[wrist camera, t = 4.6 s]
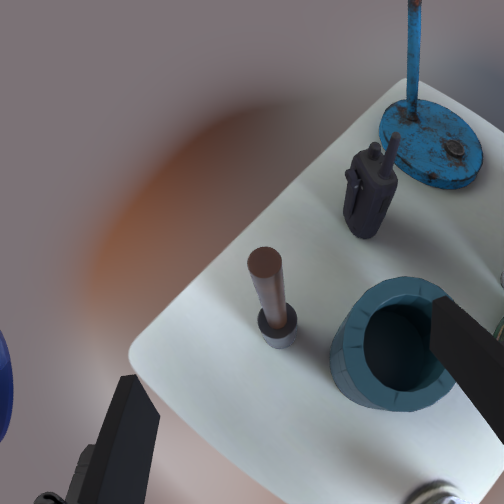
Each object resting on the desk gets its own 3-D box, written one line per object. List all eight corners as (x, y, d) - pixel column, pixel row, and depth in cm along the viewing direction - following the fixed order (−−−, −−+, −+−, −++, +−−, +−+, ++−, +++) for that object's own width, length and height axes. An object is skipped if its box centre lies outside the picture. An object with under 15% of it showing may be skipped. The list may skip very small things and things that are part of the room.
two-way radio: (382, 237, 34) (422, 146, 21) (346, 249, 34) (373, 157, 21) (362, 197, 37) (387, 99, 23) (328, 207, 37) (339, 107, 23)
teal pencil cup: (380, 427, 26) (412, 438, 18) (307, 360, 30) (313, 348, 22) (443, 350, 28) (487, 332, 20) (375, 287, 32) (399, 251, 24)
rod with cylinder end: (279, 355, 30) (263, 309, 14) (257, 333, 32) (216, 262, 15) (303, 332, 31) (313, 260, 15) (280, 310, 32) (265, 219, 16)
